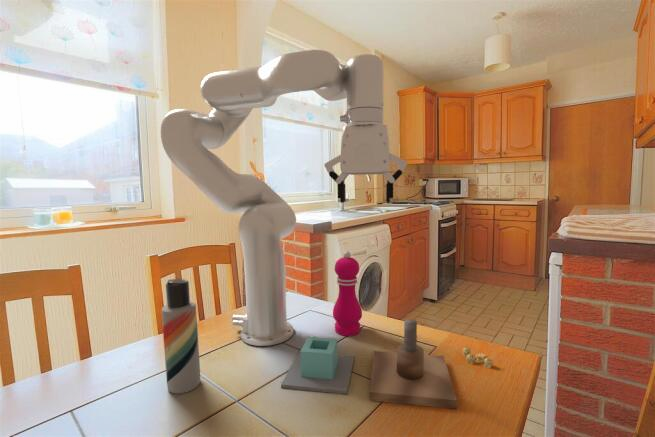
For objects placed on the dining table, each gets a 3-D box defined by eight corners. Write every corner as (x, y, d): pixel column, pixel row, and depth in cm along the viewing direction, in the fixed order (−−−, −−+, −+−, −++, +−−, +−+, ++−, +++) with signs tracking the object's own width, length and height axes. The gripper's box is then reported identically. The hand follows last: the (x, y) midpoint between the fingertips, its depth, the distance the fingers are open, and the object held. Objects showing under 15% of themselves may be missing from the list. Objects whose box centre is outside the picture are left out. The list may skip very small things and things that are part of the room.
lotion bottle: (164, 383, 63) (156, 279, 61) (195, 372, 67) (189, 273, 65) (171, 398, 59) (163, 286, 57) (204, 386, 62) (198, 280, 60)
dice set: (493, 371, 67) (493, 362, 67) (465, 368, 68) (465, 359, 68) (488, 358, 72) (488, 349, 71) (462, 355, 73) (462, 347, 73)
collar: (301, 376, 64) (300, 351, 63) (308, 359, 70) (308, 336, 69) (332, 379, 63) (332, 353, 62) (337, 362, 69) (337, 338, 68)
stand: (369, 400, 58) (369, 336, 56) (373, 357, 71) (373, 305, 70) (456, 408, 55) (458, 342, 54) (443, 363, 69) (444, 309, 68)
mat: (281, 387, 62) (281, 384, 61) (298, 354, 73) (298, 351, 73) (347, 394, 59) (347, 390, 59) (354, 358, 71) (354, 355, 71)
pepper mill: (363, 337, 81) (363, 254, 78) (332, 337, 81) (331, 254, 79) (360, 324, 88) (360, 248, 86) (333, 324, 88) (331, 248, 86)
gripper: (320, 119, 69) (322, 203, 71) (408, 114, 66) (407, 203, 68) (327, 124, 76) (328, 201, 78) (406, 121, 73) (405, 200, 75)
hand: (365, 202), depth 73 cm, fingers open, 9 cm apart
